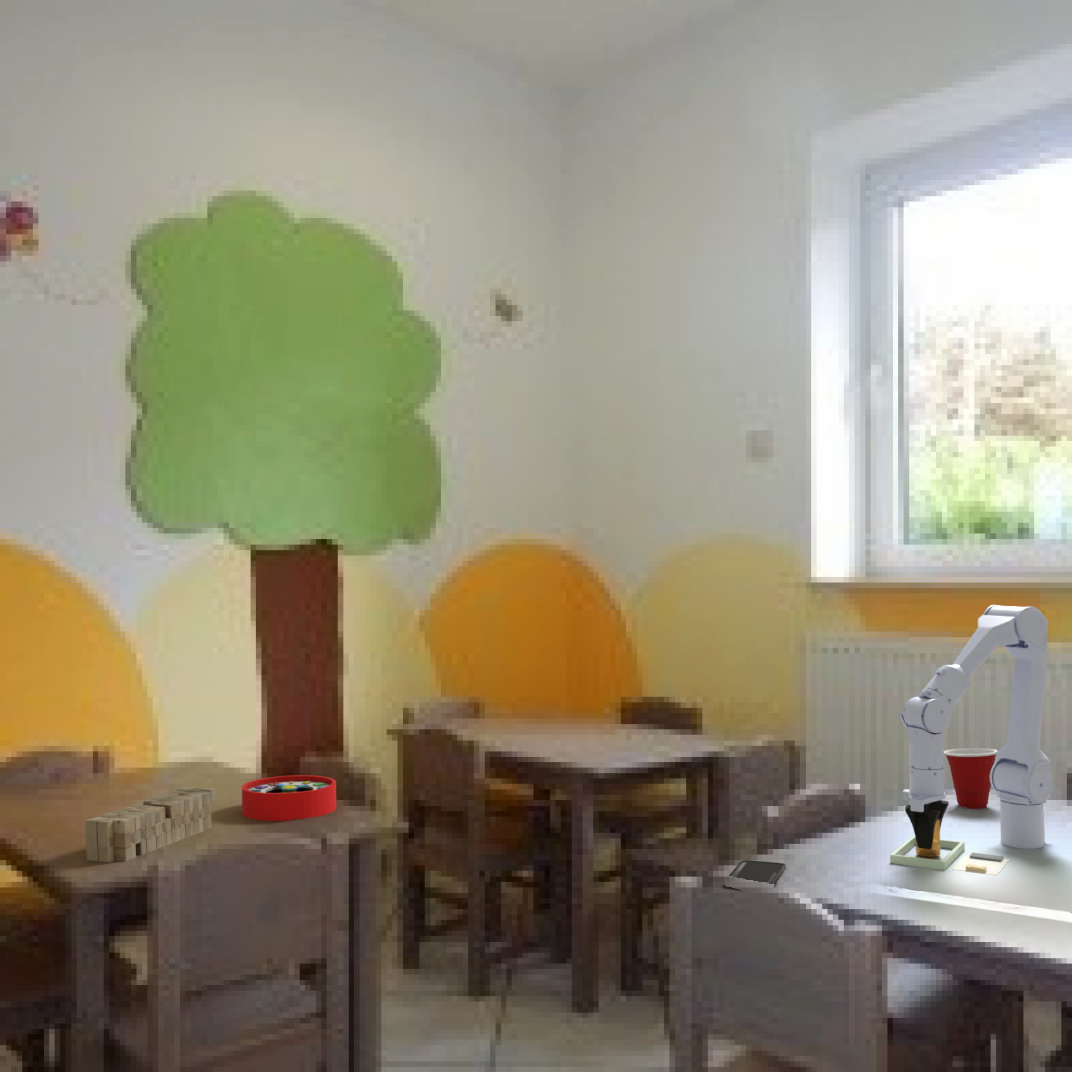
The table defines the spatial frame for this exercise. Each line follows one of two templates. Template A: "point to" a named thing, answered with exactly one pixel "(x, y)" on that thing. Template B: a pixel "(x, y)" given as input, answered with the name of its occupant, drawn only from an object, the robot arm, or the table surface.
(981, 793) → the plastic cup
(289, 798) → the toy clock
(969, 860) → the cream rectangular pad
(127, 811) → the block tower
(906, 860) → the pale green rectangular frame
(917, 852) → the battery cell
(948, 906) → the table surface
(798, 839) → the table surface
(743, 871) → the phone
